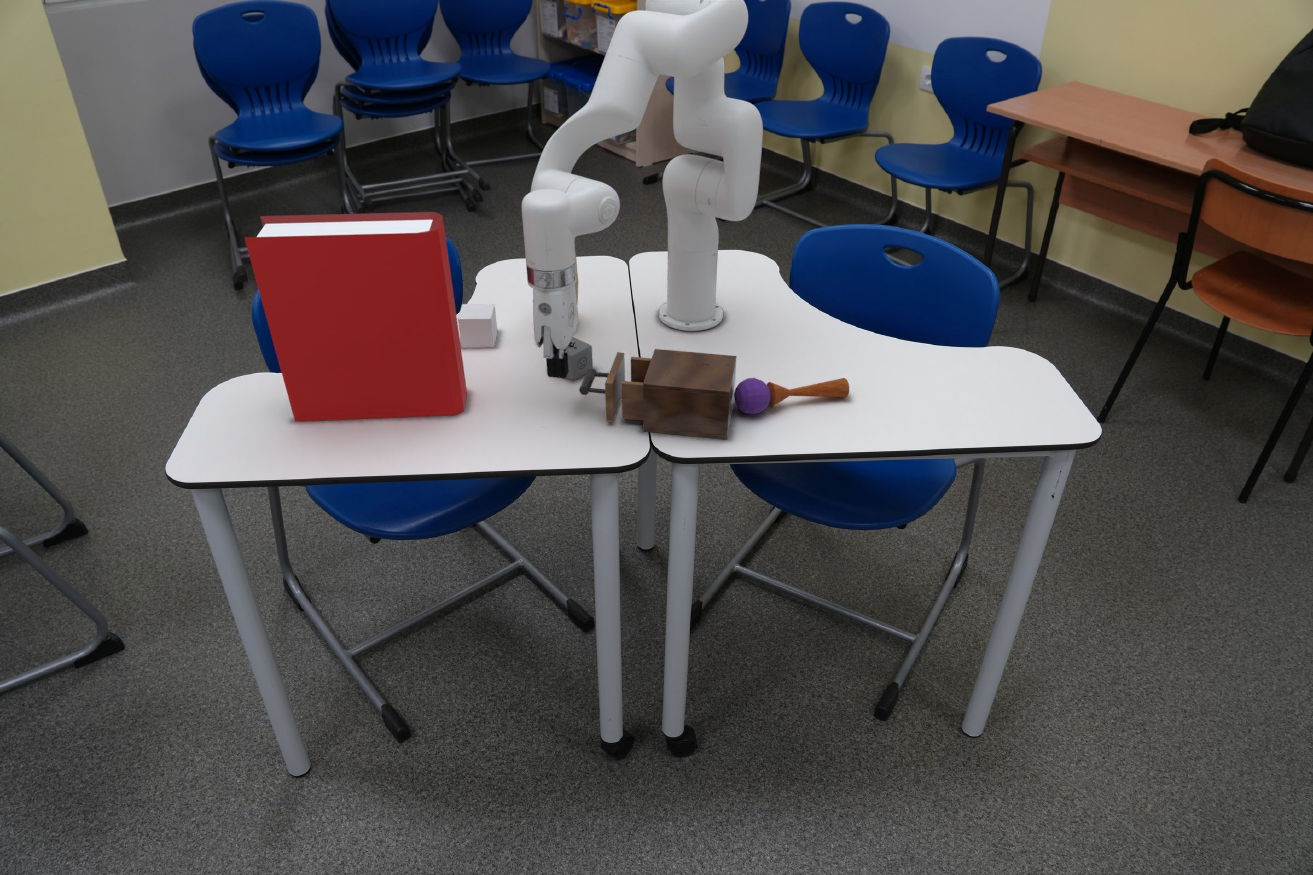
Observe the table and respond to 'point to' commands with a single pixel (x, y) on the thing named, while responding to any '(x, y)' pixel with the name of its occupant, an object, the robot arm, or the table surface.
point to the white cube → (477, 325)
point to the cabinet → (689, 394)
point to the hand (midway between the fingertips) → (558, 375)
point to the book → (361, 314)
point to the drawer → (620, 387)
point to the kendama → (782, 393)
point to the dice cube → (578, 358)
